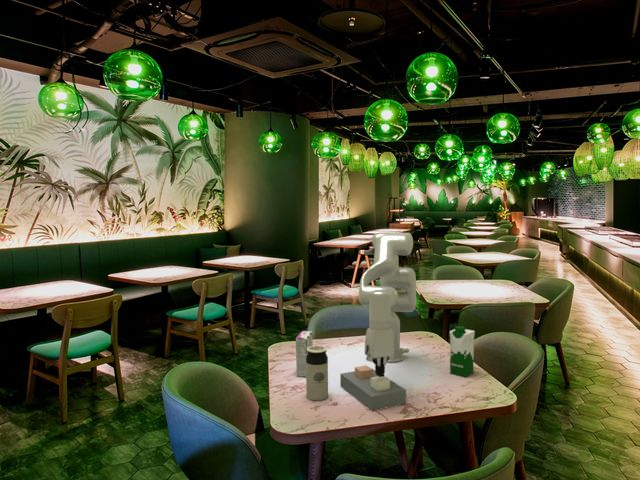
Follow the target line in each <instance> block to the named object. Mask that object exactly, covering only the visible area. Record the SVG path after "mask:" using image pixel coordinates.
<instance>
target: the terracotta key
mask: <svg viewBox="0 0 640 480" xmlns="http://www.w3.org/2000/svg"><path fill="white" fill-rule="evenodd" d="M373 369H374V368H372V369H371V367H370V366H368V365H367V364H365V365H361V366H355V367H354V371H355V376H356V377H358V378H359V379H361V380H362V379H367V378H372V377H373Z"/></svg>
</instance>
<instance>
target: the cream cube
mask: <svg viewBox="0 0 640 480" xmlns="http://www.w3.org/2000/svg"><path fill="white" fill-rule="evenodd" d="M387 378H388V377H387V376H385V377H379V376H377V377H372V378H371V387H372V388H374V389H375V390H376V391H381V390H386V389H390V380H391V379H390V380H389V378H388V379H387Z"/></svg>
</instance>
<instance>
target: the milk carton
mask: <svg viewBox="0 0 640 480" xmlns="http://www.w3.org/2000/svg"><path fill="white" fill-rule="evenodd" d="M475 332H476V331H475V330H472V329H466V327H465V326H463V325H456V326H454V329H452V330H450V331H449V339H450V341H449V345H450V346H449V359H450V360H449V374H451V375H455V376H458V377H462V378H468V377H469V376H471V375H472V374H474V358H475V357H474V351H475V349H474V346H475V345H474V342H475V334H476V333H475Z"/></svg>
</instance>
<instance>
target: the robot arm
mask: <svg viewBox="0 0 640 480" xmlns="http://www.w3.org/2000/svg"><path fill="white" fill-rule="evenodd" d="M371 243H372V246H373V248H374V256H373V257H374V259H373V264H372V265H370V266H369V267H368V268H367V269H366V270H365V271H364V273H363V274H362V276H361V278H360V280H359V289H358V301H359V303H360V305H362V306H363V307H368V309H369V311H368V312H369V313H368V315H369V317H368V318H369V319H368V321H369V325H368V326H369V328H366V333H365V338H364V355H366V358H365V360H366V361H367V362H370V363H373V364H374V367H375V369H374V370H375V373H376V375H377V376H379V377H384V376H385V372H386V370H385V369H386V365H387V363H399V362H402V361H403V360H404V355H403V354H408V353H409V352H410V349H409V348H407V347H406V348H404V347H401V321H400V318H399V316H398V315H397V314H396V313H398V312H400V313H411V312H414V311H415V310H416V306H417V278H416V277H417V276H416V272H415V270H414V269H413V268H411V267H400V265H399V261H400V260H399V256H409V255H410V254H411V253H412V251H413V250H412V249H413V247H414V239H413V236H412V234H411V233H410V232H376V233H374V234H373V235H372V237H371ZM377 279H379V283H380V285H376V286H375V285H369V284H370V283H371V282H373V281H375V280H377ZM398 289H400V290H398ZM401 289H403V290H401Z"/></svg>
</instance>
